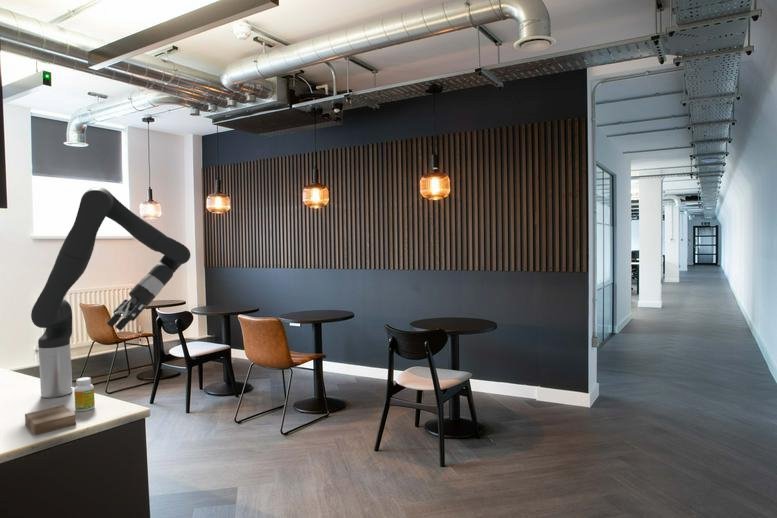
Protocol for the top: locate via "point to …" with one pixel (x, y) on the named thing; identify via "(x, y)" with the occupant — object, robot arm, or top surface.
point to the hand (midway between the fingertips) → (113, 327)
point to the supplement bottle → (84, 394)
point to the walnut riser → (50, 419)
